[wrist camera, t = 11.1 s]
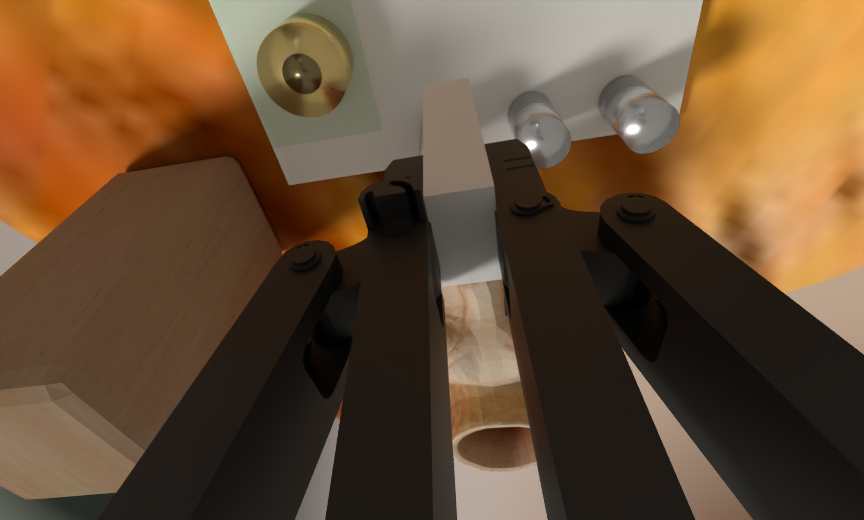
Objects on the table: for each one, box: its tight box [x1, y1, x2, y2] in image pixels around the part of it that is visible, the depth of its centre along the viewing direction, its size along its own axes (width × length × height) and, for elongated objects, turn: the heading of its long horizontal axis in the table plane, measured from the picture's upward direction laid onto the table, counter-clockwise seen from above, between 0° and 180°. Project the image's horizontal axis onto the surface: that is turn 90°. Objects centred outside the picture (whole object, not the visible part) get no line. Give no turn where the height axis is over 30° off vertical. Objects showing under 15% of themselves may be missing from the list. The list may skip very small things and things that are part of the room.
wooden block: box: [0, 156, 282, 499], centre depth 27 cm, size 10×10×20 cm
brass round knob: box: [257, 14, 354, 118], centre depth 25 cm, size 5×5×3 cm
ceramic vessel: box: [441, 279, 537, 472], centre depth 35 cm, size 14×26×15 cm, turn 12°
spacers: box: [419, 75, 680, 169], centre depth 23 cm, size 14×17×5 cm
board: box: [209, 0, 703, 185], centre depth 26 cm, size 16×28×1 cm, turn 99°
